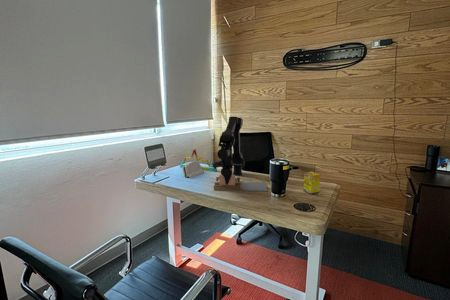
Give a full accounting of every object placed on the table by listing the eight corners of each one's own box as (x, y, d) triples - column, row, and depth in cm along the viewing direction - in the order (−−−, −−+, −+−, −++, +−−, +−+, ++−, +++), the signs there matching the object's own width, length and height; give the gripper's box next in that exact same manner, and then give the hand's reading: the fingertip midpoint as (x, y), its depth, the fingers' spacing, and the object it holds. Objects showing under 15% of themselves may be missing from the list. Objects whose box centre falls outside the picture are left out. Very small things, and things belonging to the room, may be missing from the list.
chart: (217, 170, 179) (217, 150, 176) (215, 172, 176) (215, 151, 173) (182, 166, 191) (181, 148, 188) (180, 167, 188) (179, 148, 185)
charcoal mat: (242, 183, 151) (242, 182, 151) (264, 183, 150) (264, 182, 150) (242, 191, 137) (242, 190, 137) (267, 191, 137) (267, 190, 137)
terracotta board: (219, 187, 143) (219, 174, 142) (234, 187, 143) (234, 174, 141) (219, 189, 141) (219, 175, 139) (234, 189, 140) (234, 176, 139)
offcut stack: (218, 181, 154) (218, 174, 153) (237, 181, 154) (237, 174, 153) (218, 184, 150) (217, 177, 149) (237, 184, 149) (237, 177, 148)
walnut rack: (216, 180, 156) (216, 177, 155) (239, 181, 155) (239, 177, 155) (213, 190, 139) (213, 186, 139) (240, 190, 138) (240, 186, 138)
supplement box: (303, 191, 137) (304, 172, 135) (311, 189, 139) (312, 171, 137) (310, 194, 132) (311, 175, 130) (319, 193, 134) (320, 174, 132)
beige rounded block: (189, 178, 161) (185, 164, 161) (184, 179, 163) (180, 165, 163) (204, 172, 175) (200, 159, 175) (199, 173, 177) (195, 160, 177)
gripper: (214, 152, 148) (214, 176, 151) (211, 159, 129) (211, 187, 132) (232, 152, 147) (232, 177, 150) (232, 159, 129) (232, 187, 132)
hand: (227, 181), depth 141 cm, fingers open, 9 cm apart
